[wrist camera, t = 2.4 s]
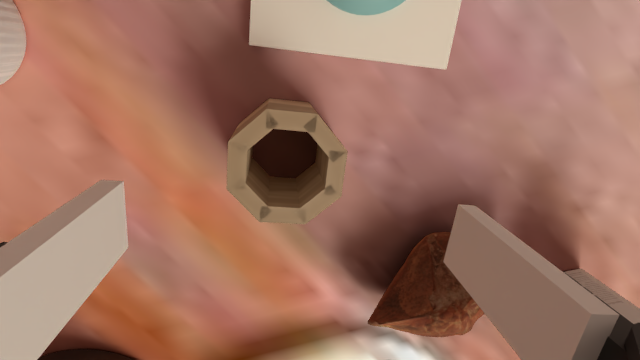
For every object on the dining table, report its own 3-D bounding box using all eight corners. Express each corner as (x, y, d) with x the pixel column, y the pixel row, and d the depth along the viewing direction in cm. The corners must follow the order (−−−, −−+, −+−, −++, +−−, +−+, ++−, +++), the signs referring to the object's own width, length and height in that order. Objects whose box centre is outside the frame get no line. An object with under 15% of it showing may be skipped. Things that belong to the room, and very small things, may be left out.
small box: (527, 276, 34) (631, 366, 24) (581, 266, 34) (706, 350, 24) (522, 340, 36) (613, 445, 26) (572, 330, 37) (681, 430, 27)
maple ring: (236, 187, 27) (225, 220, 22) (240, 95, 25) (229, 105, 19) (325, 193, 28) (337, 226, 23) (336, 105, 26) (352, 117, 20)
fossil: (355, 343, 29) (446, 383, 21) (341, 244, 30) (422, 242, 22) (459, 308, 35) (564, 327, 27) (444, 225, 36) (540, 218, 28)
